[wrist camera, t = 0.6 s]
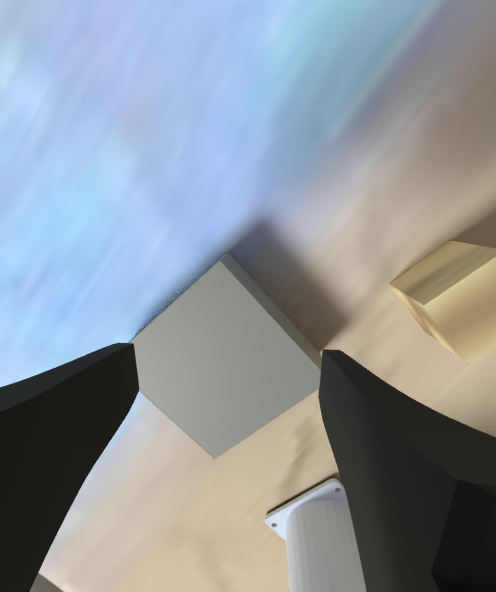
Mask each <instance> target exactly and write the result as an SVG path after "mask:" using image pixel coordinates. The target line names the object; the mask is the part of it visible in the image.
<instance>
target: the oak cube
mask: <svg viewBox="0 0 496 592" xmlns="http://www.w3.org/2000/svg"><path fill="white" fill-rule="evenodd" d="M389 285H390V286H391V288H392V289H393V290H394V292H395V293H396V294H397V296H398V297H399V298H400V300H401V301H402V302H403V303H404V305H405V306H406V307H407V309H408V310H409V311H410V313H411V314H412V315H413V317H414V318H415V319H416V320H417V322H418V323H419V324H420V326H421V327H422V328H423V330H424V331H425V332H427V333H428V334H429V335H430V336H432V337H433V338H434V339H436V340H437V341H438V342H440V343H441V344H442V345H443V346H445V347H446V348H447V349H449V350H450V351H451V352H453V353H454V354H455V355H456V356H458V357H459V358H460V359H462V360H463V361H464V362H466V363H469V362H471V361H472V360H474V359H476V358H477V357H479V356H481V355H482V354H484V353H486V352H487V351H489V350H491V349H492V348H494V347H496V248H491V247H485V246H480V245H474V244H468V243H462V242H457V241H451V240H449V241H448V242H447V243H445V244H444V245H442V246H441V247H440V248H438V249H437V250H435V251H434V252H433V253H431V254H430V255H429V256H427V257H426V258H424V259H423V260H422V261H420V262H419V263H417V264H416V265H415V266H413V267H412V268H410V269H409V270H408V271H406V272H405V273H404V274H402V275H401V276H399V277H398V278H397V279H395V280H394V281H392V282H391V283H390V284H389Z"/></svg>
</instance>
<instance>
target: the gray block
mask: <svg viewBox="0 0 496 592" xmlns="http://www.w3.org/2000/svg"><path fill="white" fill-rule="evenodd" d="M128 343H134V348H135V356H136V364H137V372H138V380H139V388H140V389H139V392H141V393H142V394H143V395H144V396H145V397H146V398H147V399H148V400H149V401H151V402H152V403H153V404H154V405H155V406H156V407H157V408H158V409H159V410H161V411H162V412H163V413H164V414H165V415H166V416H167V417H168V418H169V419H171V420H172V421H173V422H174V423H175V424H176V425H177V426H178V427H179V428H181V429H182V430H183V431H184V432H185V433H186V434H187V435H188V436H189V437H190V438H192V439H193V440H194V441H195V442H196V443H197V444H198V445H199V446H200V447H202V448H203V449H204V450H205V451H206V452H207V453H208V454H209V455H210V456H212V457H213V458H214V459H216V458H218V457H219V456H220V455H222V454H223V453H225V452H226V451H228V450H229V449H231V448H232V447H234V446H235V445H237V444H238V443H240V442H241V441H243V440H244V439H246V438H247V437H248V436H250V435H251V434H253V433H254V432H256V431H257V430H259V429H260V428H262V427H263V426H265V425H266V424H268V423H269V422H271V421H272V420H274V419H275V418H276V417H278V416H279V415H281V414H282V413H284V412H285V411H287V410H288V409H290V408H291V407H293V406H294V405H296V404H297V403H299V402H300V401H302V400H303V399H305V398H306V397H307V396H309V395H310V394H312V393H313V392H315V391H316V390H318V389H319V386H320V375H321V364H322V358H321V355H320V352H319V351H318V350H317V349H316V348H315V347H314V346H313V344H312V343H311V342H310V341H309V340H308V339H307V338H306V337H305V336H304V335H303V333H302V332H301V331H300V330H299V329H298V328H297V327H296V326H295V325H294V323H293V322H292V321H291V320H290V319H289V318H288V317H287V316H286V315H285V313H284V312H283V311H282V310H281V309H280V308H279V307H278V306H277V305H276V304H275V302H274V301H273V300H272V299H271V298H270V297H269V296H268V295H267V294H266V292H265V291H264V290H263V289H262V288H261V287H260V286H259V285H258V284H257V282H256V281H255V280H254V279H253V278H252V277H251V276H250V275H249V274H248V273H247V271H246V270H245V269H244V268H243V267H242V266H241V265H240V264H239V263H238V261H237V260H236V259H235V258H234V257H233V256H232V255H231V254H230V253H229V251H228V252H227V253H226V254H224V255H223V256H222V257H221V258H220V259H219V260H218V261H217V262H216V263H215V264H214V265H212V266H211V267H210V268H209V269H208V270H207V271H206V272H205V273H204V274H203V275H201V276H200V277H199V278H198V279H197V280H196V281H195V282H194V283H193V284H192V285H190V286H189V287H188V288H187V289H186V290H185V291H184V292H183V293H182V294H181V295H180V296H178V297H177V298H176V299H175V300H174V301H173V302H172V303H171V304H170V305H169V306H167V307H166V308H165V309H164V310H163V311H162V312H161V313H160V314H159V315H158V316H156V317H155V318H154V319H153V320H152V321H151V322H150V323H149V324H148V325H147V326H146V327H144V328H143V329H142V330H141V331H140V332H139V333H138V334H137V335H136V336H135V337H133V338H132V339H131V340H130V341H129V342H128Z"/></svg>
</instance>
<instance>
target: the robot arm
mask: <svg viewBox="0 0 496 592" xmlns="http://www.w3.org/2000/svg"><path fill="white" fill-rule="evenodd" d="M139 389H140V388H139V380H138V372H137V364H136V356H135V348H134V343H116V344H113V345H110V346H107V347H104V348H102V349H99V350H97V351H94V352H92V353H89V354H87V355H85V356H82V357H80V358H78V359H75V360H73V361H70V362H68V363H66V364H63V365H61V366H58V367H56V368H53V369H51V370H48V371H45V372H43V373H40V374H38V375H35V376H33V377H30V378H27V379H24V380H21V381H19V382H16V383H13V384H10V385H6V386H3V387H0V592H29V591H30V589H31V587H32V585H33V583H34V580H35V578H36V576H37V574H38V572H39V570H40V568H41V566H42V563H43V561H44V559H45V557H46V555H47V553H48V551H49V548H50V546H51V544H52V542H53V540H54V538H55V536H56V535H57V533H58V531H59V529H60V527H61V525H62V523H63V521H64V519H65V517H66V515H67V513H68V511H69V509H70V507H71V505H72V503H73V501H74V499H75V498H76V496H77V494H78V492H79V490H80V488H81V486H82V484H83V483H84V481H85V479H86V477H87V476H88V474H89V472H90V471H91V469H92V468H93V466H94V464H95V463H96V461H97V460H98V458H99V457H100V455H101V454H102V452H103V451H104V449H105V448H106V446H107V445H108V443H109V442H110V440H111V439H112V437H113V436H114V434H115V433H116V431H117V430H118V428H119V427H120V425H121V424H122V422H123V420H124V419H125V417H126V416H127V414H128V413H129V411H130V409H131V407H132V405H133V403H134V400H135V398H136V396H137V394H138V392H139ZM318 397H319V402H320V408H321V413H322V419H323V423H324V426H325V429H326V432H327V436H328V439H329V442H330V445H331V448H332V451H333V454H334V457H335V460H336V463H337V467H338V470H339V473H340V476H341V479H342V482H343V485H342V484H341V483H340V481H339V480H337V479H335V478H332V479H329V480H327V481H326V482H324V483H322V484H320V485H319V486H317V487H315V488H313V489H312V490H310V491H308V492H306V493H304V494H303V495H301V496H299V497H297V498H296V499H294V500H292V501H290V502H288V503H287V504H285V505H283V506H281V507H280V508H278V509H276V510H274V511H273V512H271V513H269V514H267V515H266V516H265V523H266V524H267V525H268V526H269V527H271V528H272V529H273V530H274V531H275V532H276V533H277V534H278V535H279V536H281V537H282V538H283V539H284V540H285V541H286V547H287V562H288V578H289V592H496V437H493V436H491V435H488V434H486V433H483V432H481V431H478V430H476V429H474V428H471V427H469V426H467V425H465V424H462V423H460V422H458V421H456V420H453V419H451V418H449V417H447V416H445V415H443V414H441V413H439V412H437V411H435V410H433V409H431V408H429V407H427V406H425V405H423V404H421V403H419V402H418V401H416V400H414V399H412V398H410V397H409V396H407V395H405V394H404V393H402V392H400V391H399V390H397V389H396V388H394V387H392V386H391V385H389V384H388V383H386V382H385V381H383V380H382V379H380V378H379V377H377V376H376V375H374V374H373V373H371V372H370V371H369V370H367V369H366V368H364V367H363V366H362V365H360V364H359V363H358V362H356V361H355V360H354V359H352V358H351V357H349V356H348V355H347V354H345V353H344V352H342V351H340V350H324V349H323V353H322V364H321V375H320V386H319V396H318Z"/></svg>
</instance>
